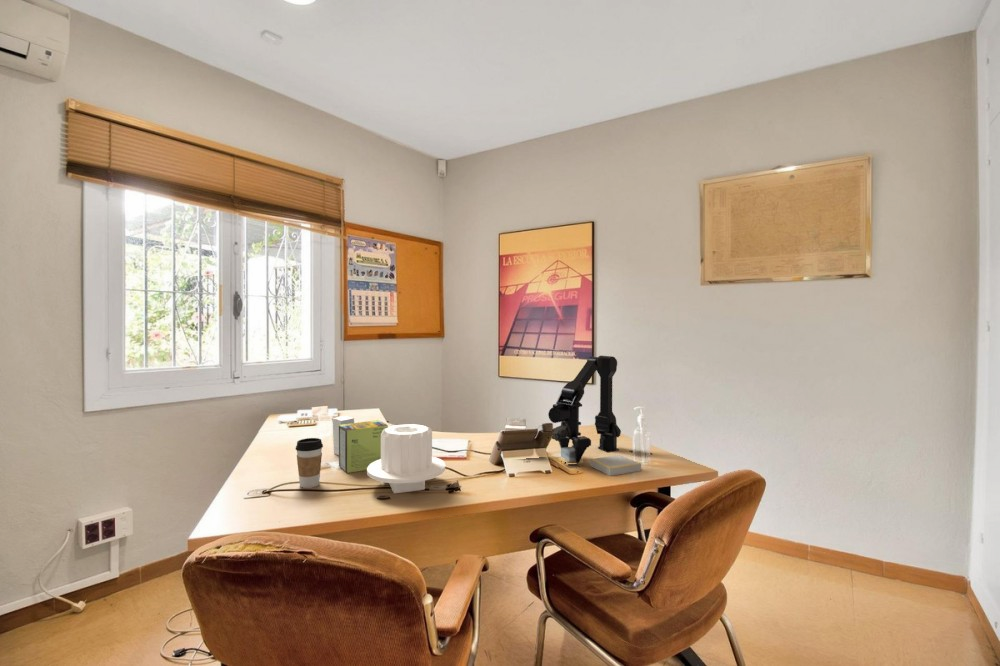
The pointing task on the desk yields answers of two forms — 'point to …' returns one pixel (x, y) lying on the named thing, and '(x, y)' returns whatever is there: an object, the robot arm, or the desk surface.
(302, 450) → the coffee cup
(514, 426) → the ink cartridge box
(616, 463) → the block
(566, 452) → the pallet
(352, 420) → the skincare box
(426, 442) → the flanged gear
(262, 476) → the desk surface
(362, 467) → the protein box
